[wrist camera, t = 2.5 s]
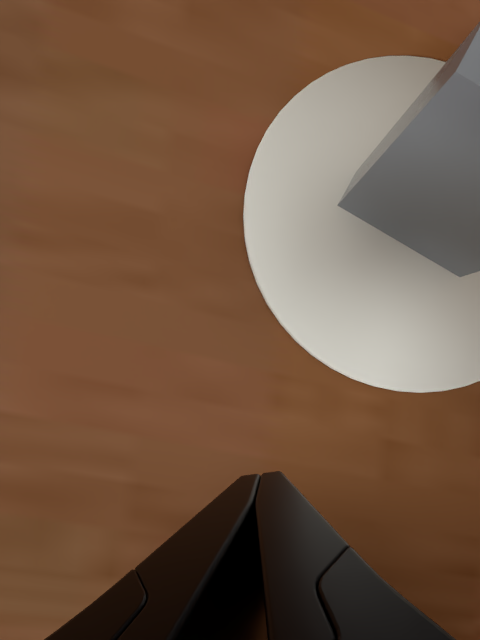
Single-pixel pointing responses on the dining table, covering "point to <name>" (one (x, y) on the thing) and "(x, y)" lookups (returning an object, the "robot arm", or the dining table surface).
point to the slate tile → (430, 169)
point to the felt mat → (354, 240)
